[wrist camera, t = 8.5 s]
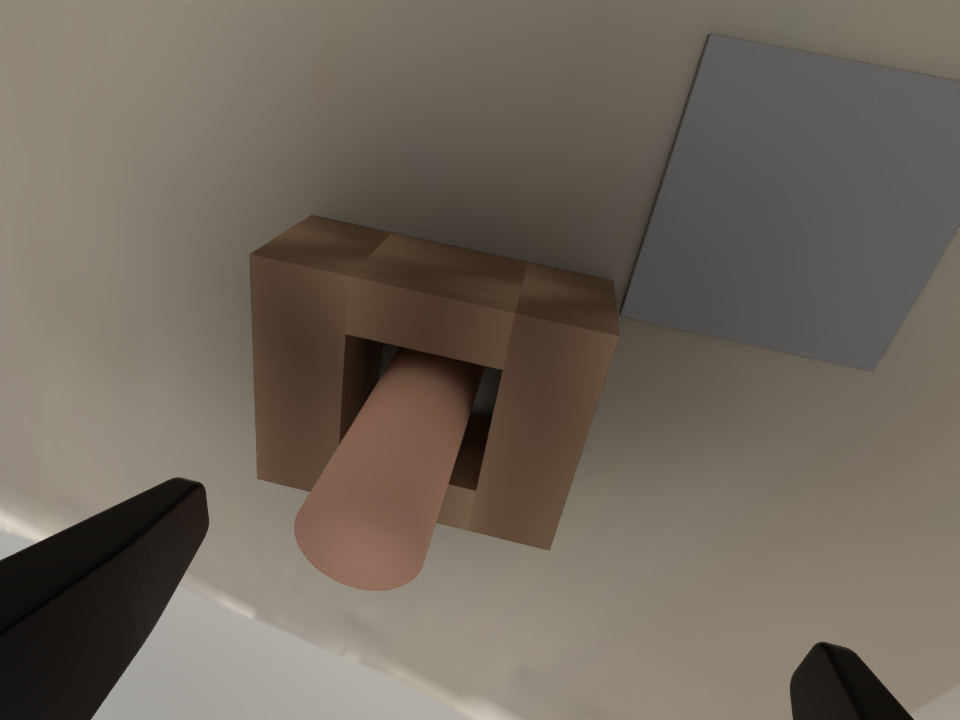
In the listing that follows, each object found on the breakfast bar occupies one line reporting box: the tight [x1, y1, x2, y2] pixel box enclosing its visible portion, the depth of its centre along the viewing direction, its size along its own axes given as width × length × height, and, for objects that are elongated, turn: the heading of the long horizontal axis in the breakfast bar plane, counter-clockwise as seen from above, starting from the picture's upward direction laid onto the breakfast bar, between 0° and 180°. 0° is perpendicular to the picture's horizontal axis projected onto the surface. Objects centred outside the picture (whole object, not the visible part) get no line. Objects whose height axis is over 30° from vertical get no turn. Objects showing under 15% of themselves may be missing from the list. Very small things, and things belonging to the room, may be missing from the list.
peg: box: [294, 347, 485, 591], centre depth 17 cm, size 3×3×9 cm
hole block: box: [250, 215, 619, 550], centre depth 19 cm, size 10×8×4 cm
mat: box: [620, 34, 960, 372], centre depth 17 cm, size 8×8×1 cm
